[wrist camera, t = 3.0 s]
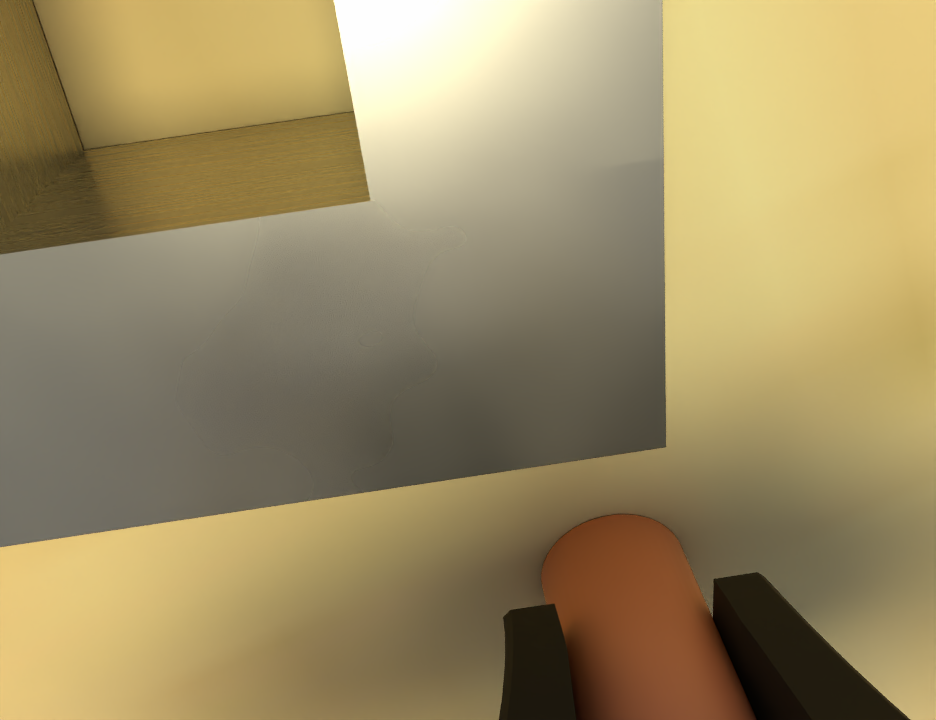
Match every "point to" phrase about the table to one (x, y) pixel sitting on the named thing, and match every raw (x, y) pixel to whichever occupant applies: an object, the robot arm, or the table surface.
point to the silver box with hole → (337, 273)
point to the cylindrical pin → (638, 626)
